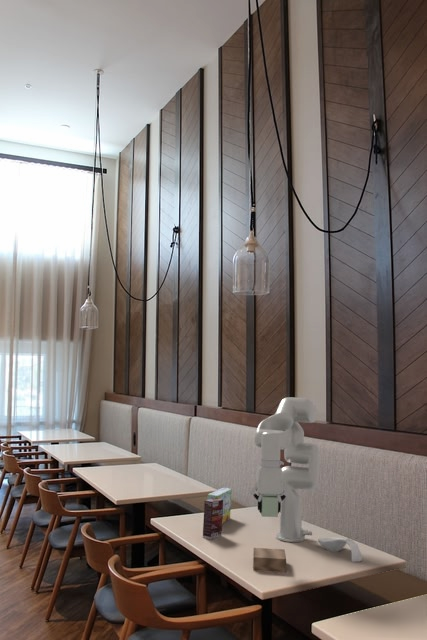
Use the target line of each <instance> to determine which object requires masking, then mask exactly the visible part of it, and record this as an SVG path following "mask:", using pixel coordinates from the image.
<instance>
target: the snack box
mask: <svg viewBox="0 0 427 640" xmlns="http://www.w3.org/2000/svg"><path fill="white" fill-rule="evenodd" d="M232 492H233V491H232V488H228V487H222V488H219V489H217V490H215V491H213V492H210V493H208V494H207V499H206V500H210V499H214V498H218V499H223V517H222V524H223V523H225V522H227V521H228V520H230V519H231V505H232Z"/></svg>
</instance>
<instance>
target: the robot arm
mask: <svg viewBox="0 0 427 640" xmlns="http://www.w3.org/2000/svg"><path fill="white" fill-rule="evenodd" d="M317 418H318V409H317V405H316V404H315V403H314V402H313V401H312V400H311V399H310V398H307V397H296V396H295V397H292V396H291V397H290V396H289V397H288V396H287V397H284V398H282V400H281V401H280V402H279V404H278V406H277V408H276V411H275V413H274V414H272V415H270V416H269V417H267V418H264V419H263V420H261V422H259V424H258V426H257V428H256V431H255V433H254V438H253V439H254V441H253V442H254V443H255V445H256V446H257V448H259V449H260V466H258V468H257V473H256V482H255V483H256V484H255V485H254V486H253V487H252V488H250V490H249V493H250V494H251V495H252V496H253V497H254V498H255V500H257V510H258V511H259V513H260V514H261V512H262V502H261V499H262V497H263V495H276V496H277V497H278V514H279V516H280V520H279V521H280V522H279V532H278V533H277V534H276V538H277V540H279V541H283V542H288V543H300V542H303V541H305V540H306V539H305V538H306V537H305V536H313V531H312V530H308V529H304V528H302V520H303V518H302V517H303V516H302V514H303V512H302V511H303V498H302V495H301V494H300V492H299V491H298V490H309V491H314V490H316V489H317V488H318V485H319V478H320V473H319V472H320V448H319V447H318V445H317V444H315V443H312V442H310V443H309V442H304V441H305V432H304V429H303V427H302V425H300V423H306V424H307V423H309V424H312V423H313V424H314V423H315V422H316V420H317ZM281 450H284V451H283V452H284V453H283V455H284V456H283V457H284V460H285V461H286V462H287V463H291V464H297V465H307V466H308V467H304V466H297V465H296V466H294V465H293V466H292V465H286V466H284V465H285V462H284V461H281ZM282 466H283V467H282ZM255 491H256V492H257V493H256V492H255Z"/></svg>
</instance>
